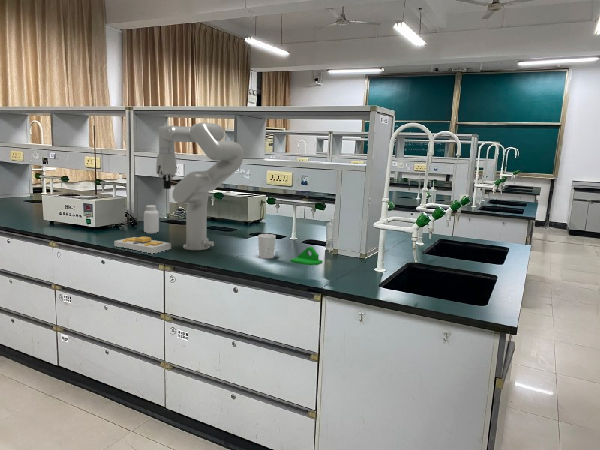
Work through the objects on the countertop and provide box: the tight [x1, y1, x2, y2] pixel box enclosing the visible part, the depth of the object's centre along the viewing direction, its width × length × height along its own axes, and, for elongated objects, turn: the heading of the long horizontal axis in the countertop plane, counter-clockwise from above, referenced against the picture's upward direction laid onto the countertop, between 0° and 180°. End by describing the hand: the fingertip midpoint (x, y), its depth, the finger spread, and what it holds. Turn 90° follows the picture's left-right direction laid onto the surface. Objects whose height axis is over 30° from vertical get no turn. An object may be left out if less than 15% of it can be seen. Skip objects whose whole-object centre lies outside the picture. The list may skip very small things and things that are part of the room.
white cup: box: [257, 233, 277, 260], centre depth 205 cm, size 8×8×10 cm
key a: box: [146, 240, 163, 246], centre depth 210 cm, size 5×5×3 cm
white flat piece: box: [113, 236, 172, 255], centre depth 212 cm, size 24×12×4 cm, turn 63°
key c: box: [124, 236, 135, 242], centre depth 216 cm, size 5×5×3 cm
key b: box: [135, 235, 152, 244], centre depth 212 cm, size 5×5×3 cm
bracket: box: [289, 246, 323, 266], centre depth 198 cm, size 12×8×7 cm, turn 60°
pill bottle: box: [143, 204, 160, 234], centre depth 250 cm, size 8×8×15 cm
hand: (167, 188), depth 225 cm, fingers closed
